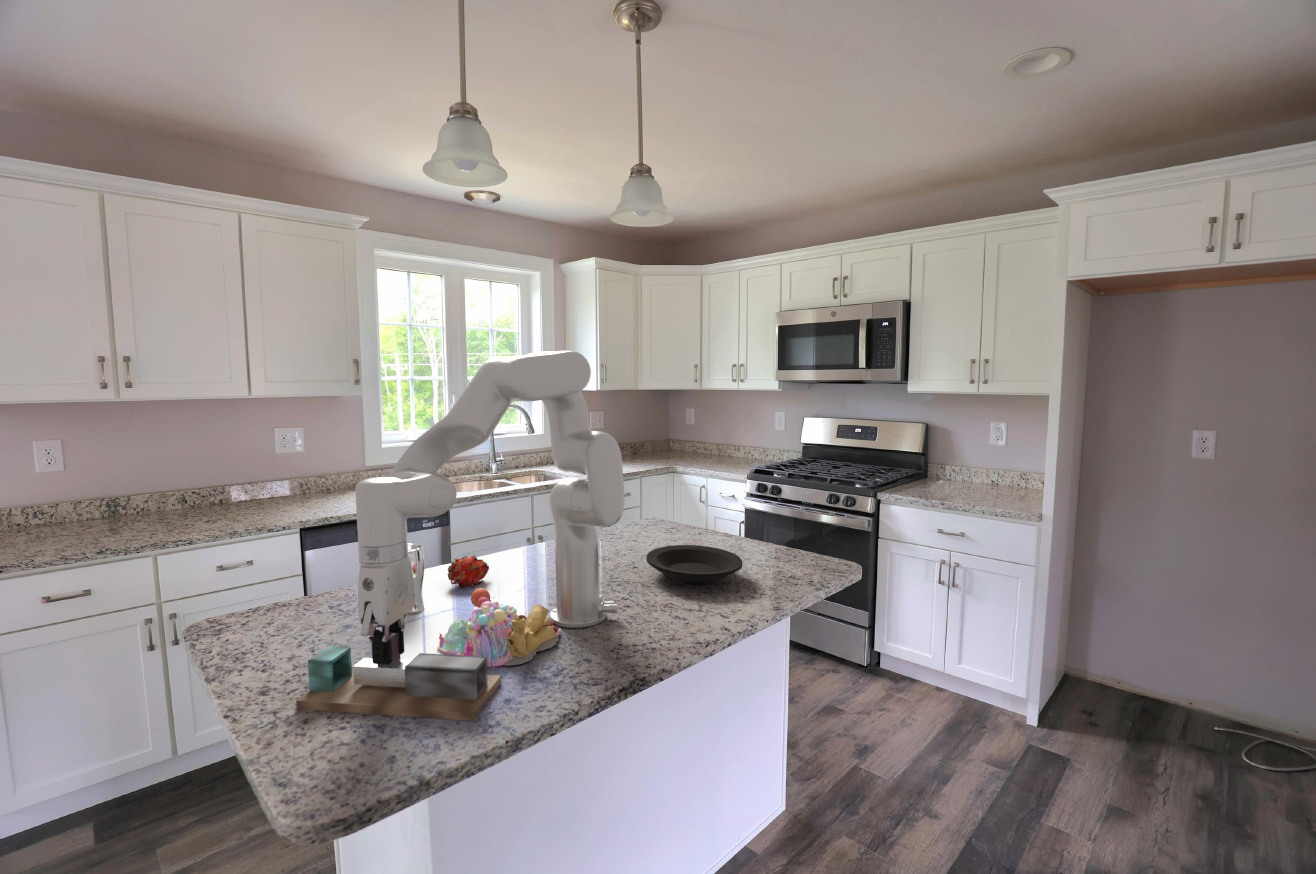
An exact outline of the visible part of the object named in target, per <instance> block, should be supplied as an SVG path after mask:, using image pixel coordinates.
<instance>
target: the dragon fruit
mask: <svg viewBox="0 0 1316 874" xmlns="http://www.w3.org/2000/svg"><path fill="white" fill-rule="evenodd" d="M453 560H454V561H451V564H450V565H449V566H448V567H447V571H448V573H447V578H448V580H449V581H450V584H451V585H457V584H458V587H459V588H463V587H464V586H466V587H470V588H472V587H474V585H481V584H482V583H483V582H484V578H485V577H486V576H487V574H488V573H489V570H490V565H488V563H487V562H486V561H484V560H483V559H480V558H479V559H478V557H477V556H476V555H472V556H471V557H468V556H467V555H465V556H464V557H462V558H458V557H457V558H455V559H453Z"/></svg>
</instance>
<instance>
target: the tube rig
mask: <svg viewBox="0 0 1316 874" xmlns="http://www.w3.org/2000/svg"><path fill="white" fill-rule="evenodd" d="M411 660H412V661H410V662H409V663H408V664H407V665H406V666H405V686H406V688H405V687H388V686H371V685H354V673H353V666H352V648H351V646H335V645H334V646H333V645H329V646H327V647H326V648H324V649H323V650H321V651H319V652H318V653H317V654H315V655H313V656H312V657H311V658H310V659H308V660H307V667H308V668H307V669H308V684H309V685H308V686H309V690H308V691H307V692H306V693H305V694H303V695H302V696H300V697H299V698H297V699H296V700H295V701H296V703H295V704H296V710H300V709H304V711H315V710H320V712H331V713H332V712H333V713H334V712H336V713H349V714H350V713H351V714H362V715H363V714H365V715H379V716H393V717H394V716H395V717H408V718H409V717H411V718H426V719H439V720H440V719H441V720H454V721H455V720H456V721H472V722H473V721H474V720H475V718H476V717H477V715H478V714H479V713H480V712H481V710H482V709H483V708H484V707H485V706H486V704H487V703H488V702H489V700H490V699H491V697H493V695H494V693H495V692H496V691H497V689H498V688H499V687H500V686H501V684H502V675H500V674H488V667H487V657H483V656H464V655H453V654H445V653H425V652H424V653H421V652H419V653H418V654H417V655H416V656H415V657H414V658H413V659H411Z"/></svg>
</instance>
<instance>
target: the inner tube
mask: <svg viewBox="0 0 1316 874" xmlns="http://www.w3.org/2000/svg"><path fill="white" fill-rule="evenodd" d="M388 640H391V644H392V663H391V664H389V665H387V664H374V663H373V661H372V657H363V658H362V659H361V660H360V661H358V662H357V663H355V664H354V665H353V666H352V667H353V673H354V685H371V686H388V687H405V688H406V686H405V666H406V665H407V664H408V663H409V662H410V661H412V660H413V659H410V660H409V659H401V654H400V638H399V632H393V631H389V639H388Z"/></svg>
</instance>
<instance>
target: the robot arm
mask: <svg viewBox="0 0 1316 874" xmlns="http://www.w3.org/2000/svg"><path fill="white" fill-rule="evenodd" d="M591 371H592V370H591V365H590V363H589V361H588V359H587V358H586V357H585V355H583V354H582V353H580V352H578V351H574V350H559V351H558V350H557V351H556V350H555V351H553V350H552V351H549V350H548V351H537V352H535V351H534V352H532V353H531V352H530V353H528V354H525V355H516V356H515V355H512V356H511V355H510V356H497V357H492V358H490V359H488V360H486V361H485V362H484V363H483V364H482V365H481V366H480V367H479V369H478V370H477V372H476V374H474V376H473V377H472V379H471V380H470V382H469V383H468V385H467V386H466V387H465V389H464V390H463V392H462V393H461V394H460V396H459V398H458V399H457V400H456V402H455V403H454V405H453V406H452V407H451V409H450V410H449V412H448V413H447V414H446V415H445V416H444V417H443V418H441V419H440V420H439V421H437V422H436V423H435V424H433V425H432V426H431V427H430V428H429V429H428V430H426V431H425V432H423V434H421V435H420V436H418V437H417V439H416V440H414V441H412V442H413V443H411V445H409V447H407V449H406V450H405V451H404V453H403V454H401V457H400V458H399V460H397V462H396V463H395V465H394V467H393V468H392V469H391V471H390V473H389V475H388V476H381V477H379V476H378V477H371V478H370V477H369V478H365V479H362V480H360V481H359V482H358V483H357V484H356V486H355V506H356V508H355V509H356V525H357V527H356V528H357V529H356V530H357V546H358V547H357V548H358V551H357V552H358V564H359V565H360V566H359V572H358V585H357V608H358V609H357V610H358V611H357V612H358V618H359V623H360V624H361V628H360V629H361V630H360V636H361V637H367V638H368V639H369V641H368V642H370V643H371V658H372V661H373V663H374V664H387V665H389V664H391V663H392V644H391V640H388V639H389V631H393V632H399V638H400V655H403V653H405V641H404V640H405V635H404V630H405V628H406V622H405V618H406V616H407V615H406V613H408V612H409V611H410V610H411V609H412V608H413V607H414V605H415V590H414V581H413V573H412V566H411V562H410V558H409V555H408V544H409V543H408V525H407V523H408V522H407V520H408V519H411V518H414V519H415V518H433V517H438V516H441V515H443V514H445V513H447V512H448V511H449V510H450V509H452V507H453V506H454V505H455V503H456V499H457V489H456V486H455V484H454V483H453V482H452V480H451V479H449V478H448V477H446V476H444V475H443V474H440V473H437V472H438V471H439V470H440V469H441V467H443V466H444V464H445V463H447V462H449V460H451V459H453V458H455V457H456V456H458V455H460V454H462V453H464V452H467V451H469V450H472V449H474V448H476V447H478V446H481V445H482V444H484V443H485V442H487V441H488V440H489V438H491V436H492V434H493V432H494V431H495V430H496V428H497V426H498V424H499V423H500V422H501V420H502V418H503V417H504V416H505V414H506V412H507V411H508V410H509V408H510V406H511V405H512V403H513V402H537V401H542V403H543V404H544V406H545V409H546V411H547V415H548V423H549V433H550V444H551V445H550V446H551V455H552V460H553V463H554V465H555V467H556V468H557V469H558V470H560V471H562V472H565V473H570V474H573V475H574V474H577V475H583V476H586V478H582V477H581V478H580V477H566V478H563V479H560V480H559V481H557V482H556V484H554V485H553V487H552V489H551V491H550V495H549V507H550V513H551V517H552V518H551V519H552V522H553V529H554V542H555V543H554V545H555V550H554V552H555V592H556V594H555V598H556V603H555V604H556V607H554V608H553V609H552V610H551V611H549V612H550V613H549V620H550V621H552V622H554V623H555V624H556V625H557V626H558V627H560V628H561V627H562V628H567V629H570V628H571V629H581V628H588V627H592V626H595V625H598V624H600V623H601V622H603V621H604V620H605V619H606V617H607V614H608V613H609V614H618V613H619V604H616V601H610V600H609V601H605V599H603V597H604V596H603V593H601V594H600V575H599V574H600V572H599V571H600V569H599V568H600V566H599V565H600V564H599V555H600V554H599V553H600V552H599V549H600V548H599V537H598V532H597V529H596V527H599V528H601V527H602V528H607V527H611V526H614V525H615V524H617V523H619V521H620V520H621V518H622V515H623V514H624V509H625V485H624V484H625V483H624V473H623V471H624V470H623V457H622V452H621V448H620V446H619V444H618V442H617V440H616V439H615V437H613V435H611V434H609V433H607V432H604V431H599V430H592V429H591V427H590V419H589V412H588V411H589V410H588V405H587V402H586V399H585V397H584V394H583V393H582V391H583V390H584V389H585V388H586V387H587V386H588V384H589V383H590V379H591V375H592V373H591ZM377 628H381V630H380V629H377Z"/></svg>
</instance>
